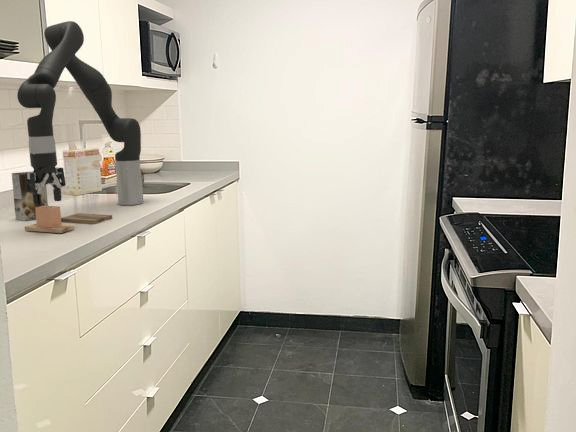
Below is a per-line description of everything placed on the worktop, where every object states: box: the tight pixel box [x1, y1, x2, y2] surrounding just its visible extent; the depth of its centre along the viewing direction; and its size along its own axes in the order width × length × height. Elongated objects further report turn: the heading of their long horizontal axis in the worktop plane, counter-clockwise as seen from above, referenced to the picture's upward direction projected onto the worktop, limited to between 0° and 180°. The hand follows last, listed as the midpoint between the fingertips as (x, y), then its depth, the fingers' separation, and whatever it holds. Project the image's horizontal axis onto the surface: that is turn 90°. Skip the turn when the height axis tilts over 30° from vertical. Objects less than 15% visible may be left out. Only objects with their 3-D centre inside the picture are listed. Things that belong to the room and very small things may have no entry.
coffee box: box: [11, 170, 49, 222], centre depth 204 cm, size 9×6×16 cm
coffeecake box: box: [62, 147, 103, 196], centre depth 262 cm, size 15×7×20 cm, turn 152°
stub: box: [24, 205, 75, 234], centre depth 184 cm, size 6×14×7 cm, turn 70°
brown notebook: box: [61, 212, 113, 225], centre depth 200 cm, size 10×14×1 cm
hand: (48, 203), depth 183 cm, fingers open, 8 cm apart
